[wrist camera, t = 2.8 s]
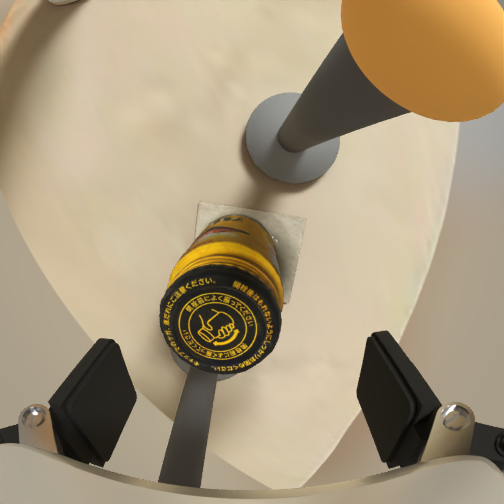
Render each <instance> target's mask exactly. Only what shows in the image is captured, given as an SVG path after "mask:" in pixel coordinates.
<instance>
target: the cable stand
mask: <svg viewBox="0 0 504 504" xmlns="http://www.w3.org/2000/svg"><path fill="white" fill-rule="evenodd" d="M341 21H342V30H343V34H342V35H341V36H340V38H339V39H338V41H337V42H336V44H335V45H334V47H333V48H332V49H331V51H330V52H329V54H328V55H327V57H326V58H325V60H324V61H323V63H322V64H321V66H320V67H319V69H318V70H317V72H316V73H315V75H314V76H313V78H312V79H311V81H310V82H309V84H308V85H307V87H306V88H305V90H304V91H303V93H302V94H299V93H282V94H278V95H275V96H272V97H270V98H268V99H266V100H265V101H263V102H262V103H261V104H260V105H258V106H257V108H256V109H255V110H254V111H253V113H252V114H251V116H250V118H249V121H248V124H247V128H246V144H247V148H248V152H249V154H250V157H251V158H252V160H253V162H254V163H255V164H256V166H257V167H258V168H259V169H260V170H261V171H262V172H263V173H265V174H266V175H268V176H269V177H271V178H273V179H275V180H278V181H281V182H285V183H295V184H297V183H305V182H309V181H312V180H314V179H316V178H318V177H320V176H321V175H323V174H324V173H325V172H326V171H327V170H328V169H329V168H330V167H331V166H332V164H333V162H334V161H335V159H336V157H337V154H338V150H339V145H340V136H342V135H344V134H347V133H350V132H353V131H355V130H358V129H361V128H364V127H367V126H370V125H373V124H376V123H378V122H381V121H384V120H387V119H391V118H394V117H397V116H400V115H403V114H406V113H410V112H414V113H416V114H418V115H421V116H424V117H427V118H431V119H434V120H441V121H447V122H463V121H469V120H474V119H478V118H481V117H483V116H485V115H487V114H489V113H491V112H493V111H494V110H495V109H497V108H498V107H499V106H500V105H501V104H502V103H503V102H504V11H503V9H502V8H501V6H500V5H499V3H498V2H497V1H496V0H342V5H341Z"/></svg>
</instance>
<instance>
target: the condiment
mask: <svg viewBox="0 0 504 504" xmlns="http://www.w3.org/2000/svg"><path fill="white" fill-rule="evenodd" d="M305 224H306V218H300V217H294V216H289V215H282V214H276V213H271V212H265V211H259V210H253V209H246V208H240V207H233V206H226V205H219V204H212V203H204V202H199V206H198V214H197V223H196V233H195V241H194V242H193V244H192V245H191V246H190V247H189V249H188V250H187V251H186V252H185V253H184V254H183V255H182V257H181V258H180V259H179V261H178V262H177V264H176V266H175V267H174V269H173V270H172V273H171V275H170V279H169V284H168V288H167V290H166V293H165V295H164V297H163V298H162V300H161V304H160V315H159V317H160V327H161V331H162V333H163V334H164V338H165V340H166V342H167V344H168V345H169V347H170V348H171V349H172V350H173V351H174V352H175V353H176V354H177V355H178V357H179V358H180V359H181V360H183V361H185V362H186V363H188V364H189V365H191V366H193V367H196V368H198V369H200V370H202V371H205V372H209V373H215V374H222V375H226V374H237V373H240V372H244V371H246V370H248V369H250V368H252V367H253V366H255V365H256V364H258V363H260V362H261V361H262V360H263V359H264V358H265V357H266V356H268V355H269V354H270V353H271V352H272V351H273V349H274V347H275V345H276V343H277V341H278V338H279V334H280V331H281V324H282V319H281V312H282V309H283V303H289V301H290V296H291V290H292V286H293V281H294V277H295V272H296V267H297V262H298V258H299V256H298V255H299V253H300V248H301V244H302V238H303V233H304V229H305ZM272 236H274V239H273V238H272ZM275 239H277V240H278V243H277V242H276V241H275Z"/></svg>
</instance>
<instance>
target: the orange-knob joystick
mask: <svg viewBox="0 0 504 504" xmlns="http://www.w3.org/2000/svg"><path fill="white" fill-rule="evenodd" d="M171 353H172V356H173V358H174V360H175V362H176V363H177V365H178V366H179V367H180V368H181V369H182V370H183V371H185V372H186V373H187V374H188V376H187V379H186V383H185V386H184V389H183V393H182V396H181V400H180V403H179V407H178V410H177V414H176V417H175V421H174V424H173V428H172V431H171V435H170V439H169V442H168V446H167V450H166V453H165V457H164V461H163V465H162V469H161V473H160V476H159V480H158V482H159V483H165V484H171V485H178V486H185V487H194V488H200V486H201V479H202V472H203V465H204V459H205V452H206V445H207V439H208V432H209V426H210V420H211V413H212V407H213V401H214V394H215V388H216V382H217V381H220V380H225V379H228V378H230V377H232V376H234V375H236V374H226V375H222V374H215V373H209V372H205V371H202V370H200V369H198V368H196V367H193V366H191V365H189V364H188V363H186V362H185V361H183V360H181V359H180V358H179V357H178V355H177V354H176V353H175V352H174V351H173V350H172V349H171Z"/></svg>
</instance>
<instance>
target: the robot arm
mask: <svg viewBox="0 0 504 504" xmlns="http://www.w3.org/2000/svg"><path fill="white" fill-rule="evenodd" d="M48 1H49V2H51V3H53V4H56V5H63V4H68V3H71V2H74V1H77V0H48ZM357 398H358V401H359V403H360V406H361V408H362V411H363V413H364V416H365V418H366V421H367V424H368V426H369V428H370V431H371V434H372V437H373V439H374V442H375V445H376V447H377V450H378V453H379V455H380V458H381V461H382V462H384V463H385V462H386V463H387V465H388V468H389V469H390V468H393V467H396V466H399V465H400V467H401V468H399V469H395V470H392V471H388V472H385V473H381V474H377V475H373V476H368V477H364V478H359V479H355V480H349V481H344V482H339V483H333V484H327V485H320V486H313V487H304V488H293V489H280V490H218V489H217V490H216V489H204V488H194V487H185V486H178V485H171V484H165V483H159V482H154V481H148V480H144V479H139V478H134V477H130V476H126V475H122V474H118V473H115V472H111V471H107V470H104V469H101V468H97V467H94V466H91V465H89V463H91V464H94V465H97V466H100V467H103V466H104V464H105V462H106V461H109V459H110V457H111V455H112V453H113V450H114V448H115V446H116V444H117V442H118V439H119V437H120V435H121V433H122V430H123V428H124V426H125V424H126V421H127V420H128V417H129V415H130V413H131V411H132V409H133V406H134V405H135V402H136V399H137V395H136V391H135V389H134V386H133V384H132V381H131V378H130V376H129V373H128V370H127V367H126V365H125V362H124V359H123V356H122V353H121V350H120V347H119V345H118V344H117V343H116V342H115V341H114V340H113V339H105V338H100V339H98V340H97V342H96V343H95V344H94V345H93V347H92V348H91V349H90V350H89V351H88V352H87V354H86V355H85V356H84V357H83V358H82V360H81V361H80V362H79V363H78V365H77V366H76V367H75V368H74V369H73V371H72V372H71V373H70V375H69V376H68V377H67V378H66V379H65V381H64V382H63V383H62V385H61V386H60V387H59V388H58V390H57V391H56V392H55V394H54V395H53V396H52V397H51V399H50V400H49V401H48V402H49V404H50V406H51V407H50V408H49V409H48V408H47V407H46V406H44V405H42V404H33V405H30V406H28V407H26V408H25V409H24V410H23V411H22V412H21V413H20V415H19V419H18V424H16V425H13V426H9V427H6V428H2V429H0V504H504V429H503V428H498V427H493V426H489V425H485V424H481V423H477V422H475V416H474V413H473V411H472V410H471V409H470V407H468V406H467V405H465V404H463V403H460V402H449V403H446V404H444V405H441V403H440V401H439V400H438V398H437V397H436V396H435V394H434V393H433V391H432V390H431V388H430V387H429V385H428V384H427V382H426V381H425V380H424V378H423V377H422V375H421V374H420V373H419V371H418V370H417V368H416V367H415V366H414V364H413V363H412V362H411V361H410V360H409V358H408V357H407V356H406V354H405V353H404V352H403V350H402V349H401V347H400V346H399V345H398V343H397V342H396V341H395V339H394V338H393V337H392V335H391V334H390V333H389V332H388V331H380V332H373V333H372V335H371V337H368V338H367V342H366V347H365V353H364V358H363V363H362V368H361V373H360V377H359V382H358V386H357Z"/></svg>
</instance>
